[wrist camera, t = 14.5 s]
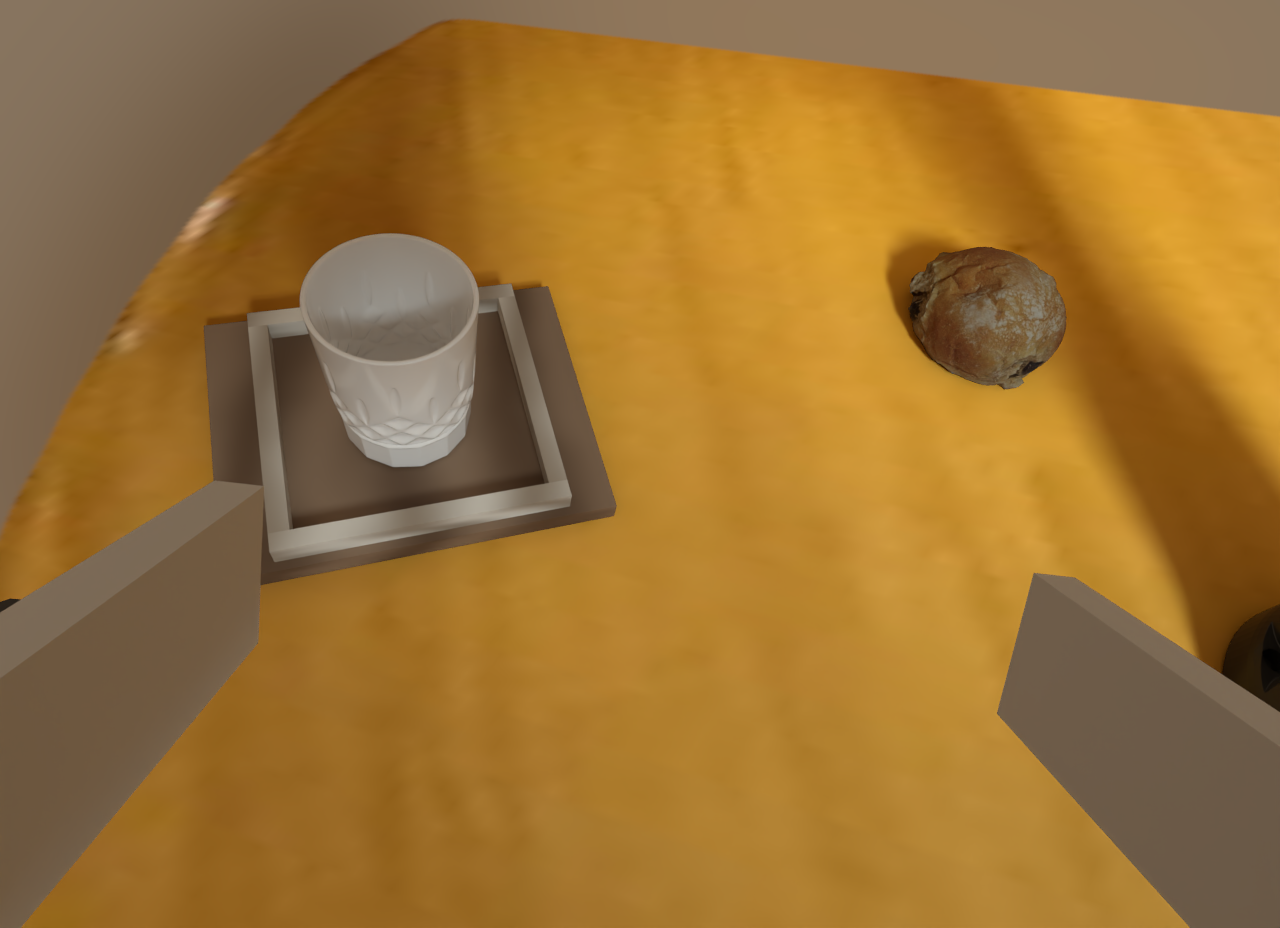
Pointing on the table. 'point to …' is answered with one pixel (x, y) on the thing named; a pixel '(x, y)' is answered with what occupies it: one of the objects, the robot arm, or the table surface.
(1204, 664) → the robot arm
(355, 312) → the white cup
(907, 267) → the table surface
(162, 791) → the table surface
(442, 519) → the keeper board
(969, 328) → the bread roll
